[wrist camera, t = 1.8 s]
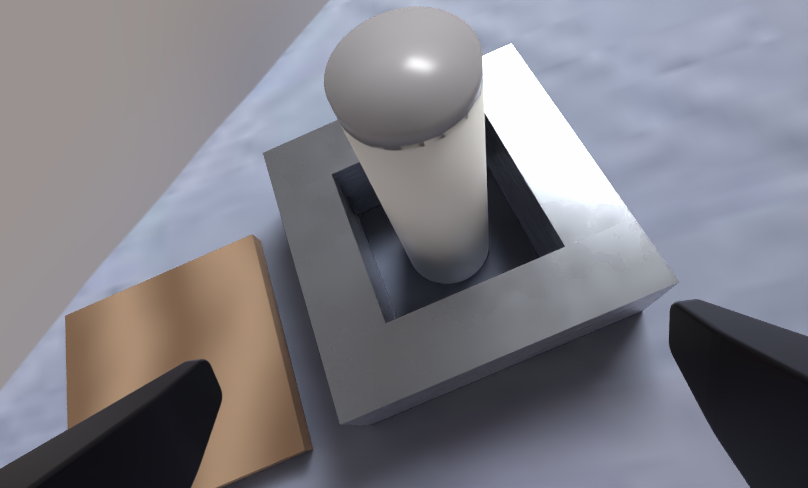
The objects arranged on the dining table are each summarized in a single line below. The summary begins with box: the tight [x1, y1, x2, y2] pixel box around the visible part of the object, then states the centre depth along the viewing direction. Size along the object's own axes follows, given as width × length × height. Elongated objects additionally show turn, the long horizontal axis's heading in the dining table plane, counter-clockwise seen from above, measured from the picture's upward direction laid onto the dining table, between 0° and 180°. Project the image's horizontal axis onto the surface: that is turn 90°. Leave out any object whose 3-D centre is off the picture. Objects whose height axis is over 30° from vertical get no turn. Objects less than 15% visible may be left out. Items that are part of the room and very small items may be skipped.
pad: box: [65, 235, 313, 488], centre depth 23 cm, size 12×12×1 cm
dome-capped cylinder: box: [324, 7, 489, 284], centre depth 18 cm, size 4×4×13 cm
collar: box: [263, 44, 679, 425], centre depth 22 cm, size 14×14×4 cm
